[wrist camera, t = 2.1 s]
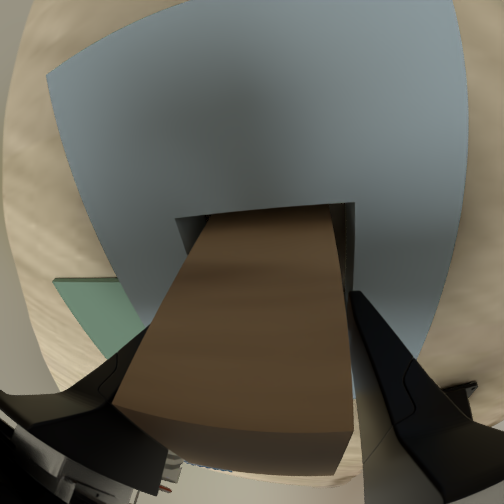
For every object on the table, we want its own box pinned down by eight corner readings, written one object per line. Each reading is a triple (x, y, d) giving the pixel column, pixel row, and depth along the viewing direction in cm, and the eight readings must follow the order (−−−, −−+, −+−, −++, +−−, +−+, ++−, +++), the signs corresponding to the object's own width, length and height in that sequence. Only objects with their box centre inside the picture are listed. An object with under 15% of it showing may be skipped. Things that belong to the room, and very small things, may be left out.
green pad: (195, 368, 20) (193, 372, 19) (108, 355, 22) (106, 358, 22) (146, 277, 15) (143, 281, 15) (55, 278, 17) (52, 281, 17)
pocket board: (394, 363, 16) (399, 393, 14) (199, 365, 19) (190, 393, 17) (421, 7, 6) (450, -6, 3) (84, 69, 9) (45, 75, 7)
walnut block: (329, 281, 13) (333, 475, 6) (239, 285, 14) (189, 462, 7) (326, 194, 11) (353, 431, 3) (218, 204, 12) (111, 403, 4)
